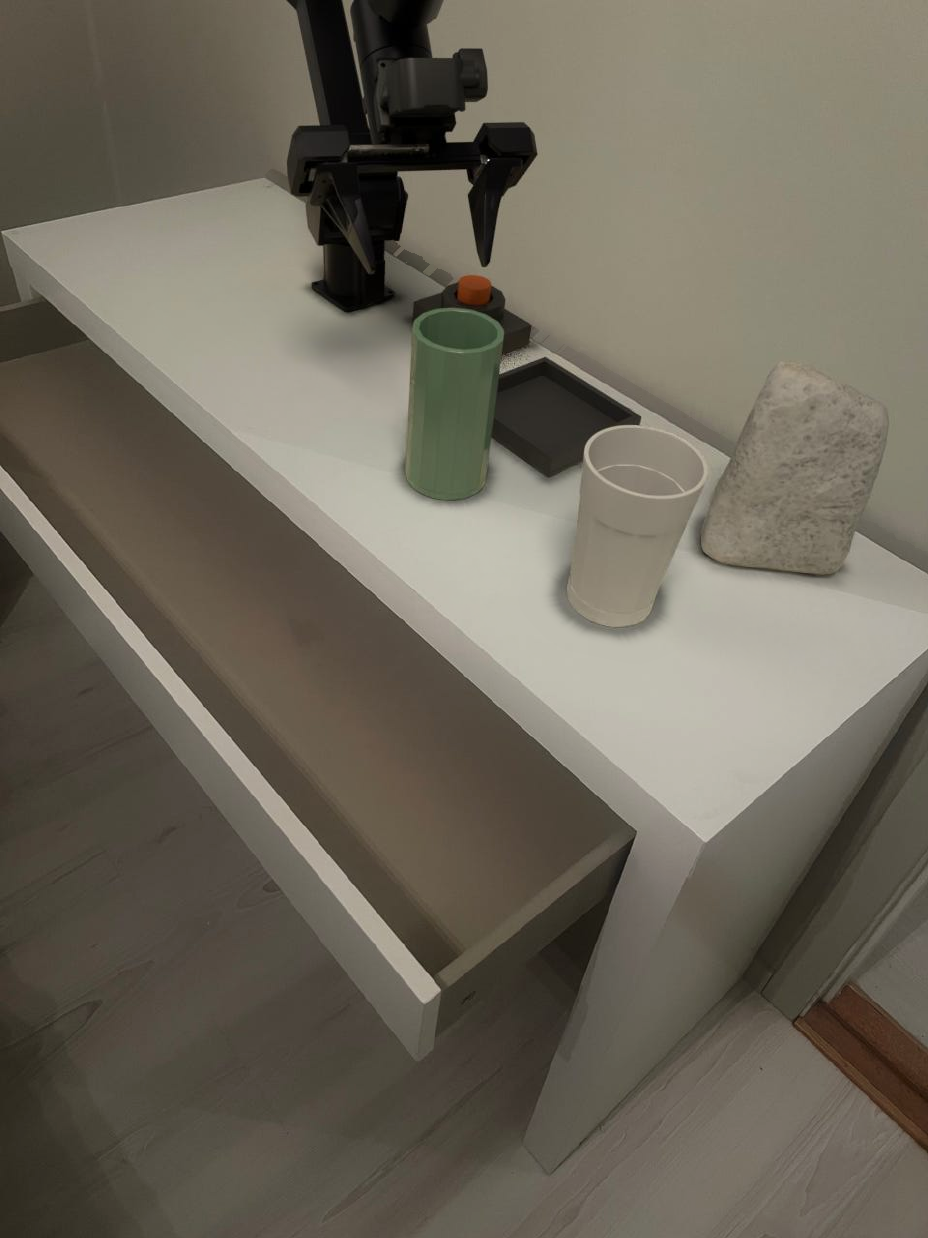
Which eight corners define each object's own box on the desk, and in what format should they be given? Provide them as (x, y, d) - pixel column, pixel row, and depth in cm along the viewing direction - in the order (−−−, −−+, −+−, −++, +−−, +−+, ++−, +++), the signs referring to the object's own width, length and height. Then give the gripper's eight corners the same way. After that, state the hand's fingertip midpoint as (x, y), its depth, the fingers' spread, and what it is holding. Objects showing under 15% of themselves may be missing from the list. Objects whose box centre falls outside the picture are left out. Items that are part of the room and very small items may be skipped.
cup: (661, 645, 65) (707, 509, 56) (548, 622, 65) (577, 484, 57) (666, 571, 70) (709, 437, 62) (562, 550, 71) (590, 415, 62)
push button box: (412, 321, 94) (413, 283, 92) (463, 304, 98) (467, 267, 95) (476, 364, 89) (480, 325, 87) (529, 345, 93) (534, 307, 90)
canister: (389, 469, 76) (394, 321, 67) (450, 443, 80) (463, 299, 71) (440, 510, 73) (453, 361, 64) (502, 481, 76) (522, 336, 67)
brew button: (450, 296, 91) (451, 279, 90) (474, 288, 93) (476, 271, 92) (471, 309, 90) (473, 292, 88) (496, 301, 91) (498, 284, 90)
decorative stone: (834, 542, 74) (914, 376, 64) (840, 591, 70) (927, 422, 60) (698, 516, 75) (755, 348, 65) (696, 563, 71) (757, 391, 61)
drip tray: (453, 410, 83) (455, 390, 82) (542, 374, 89) (545, 356, 88) (548, 478, 77) (551, 458, 76) (637, 435, 83) (642, 416, 82)
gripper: (285, -6, 61) (325, 229, 62) (546, 0, 67) (581, 217, 67) (272, 90, 72) (305, 291, 72) (497, 89, 77) (528, 276, 78)
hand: (430, 268), depth 72 cm, fingers open, 9 cm apart
